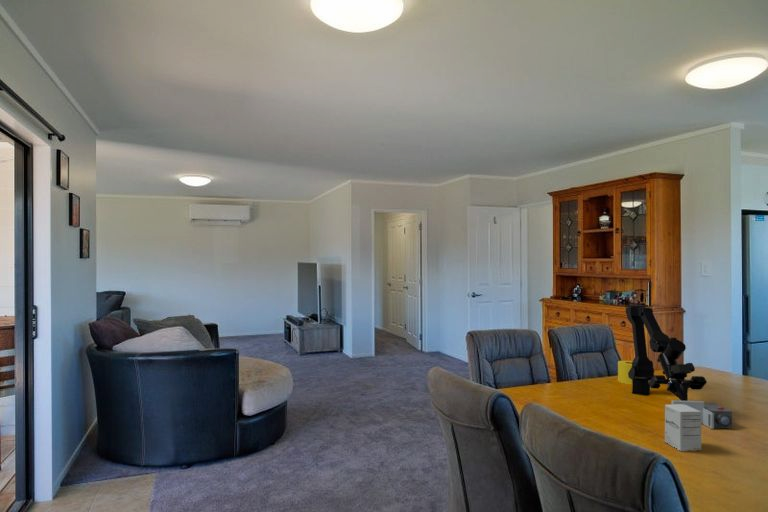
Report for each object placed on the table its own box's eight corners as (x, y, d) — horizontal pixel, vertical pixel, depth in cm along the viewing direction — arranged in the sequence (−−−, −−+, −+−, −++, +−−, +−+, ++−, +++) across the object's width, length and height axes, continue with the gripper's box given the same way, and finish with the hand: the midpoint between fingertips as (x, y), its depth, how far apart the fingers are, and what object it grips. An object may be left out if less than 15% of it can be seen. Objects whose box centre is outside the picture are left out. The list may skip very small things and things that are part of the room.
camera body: (695, 417, 176) (695, 400, 176) (714, 418, 175) (714, 401, 175) (714, 429, 164) (714, 410, 164) (735, 430, 163) (735, 411, 163)
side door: (671, 421, 171) (671, 400, 172) (702, 422, 171) (702, 401, 171) (681, 427, 165) (681, 406, 165) (713, 428, 164) (713, 406, 164)
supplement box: (663, 442, 152) (663, 404, 153) (685, 441, 153) (685, 403, 153) (680, 452, 145) (680, 411, 145) (702, 451, 146) (702, 411, 146)
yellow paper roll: (613, 380, 230) (613, 361, 230) (628, 378, 233) (628, 359, 233) (630, 385, 220) (630, 365, 220) (645, 383, 224) (645, 364, 224)
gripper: (652, 354, 178) (667, 391, 167) (704, 355, 177) (722, 392, 166) (643, 369, 186) (656, 406, 175) (691, 370, 184) (708, 407, 173)
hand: (686, 402), depth 172 cm, fingers closed
